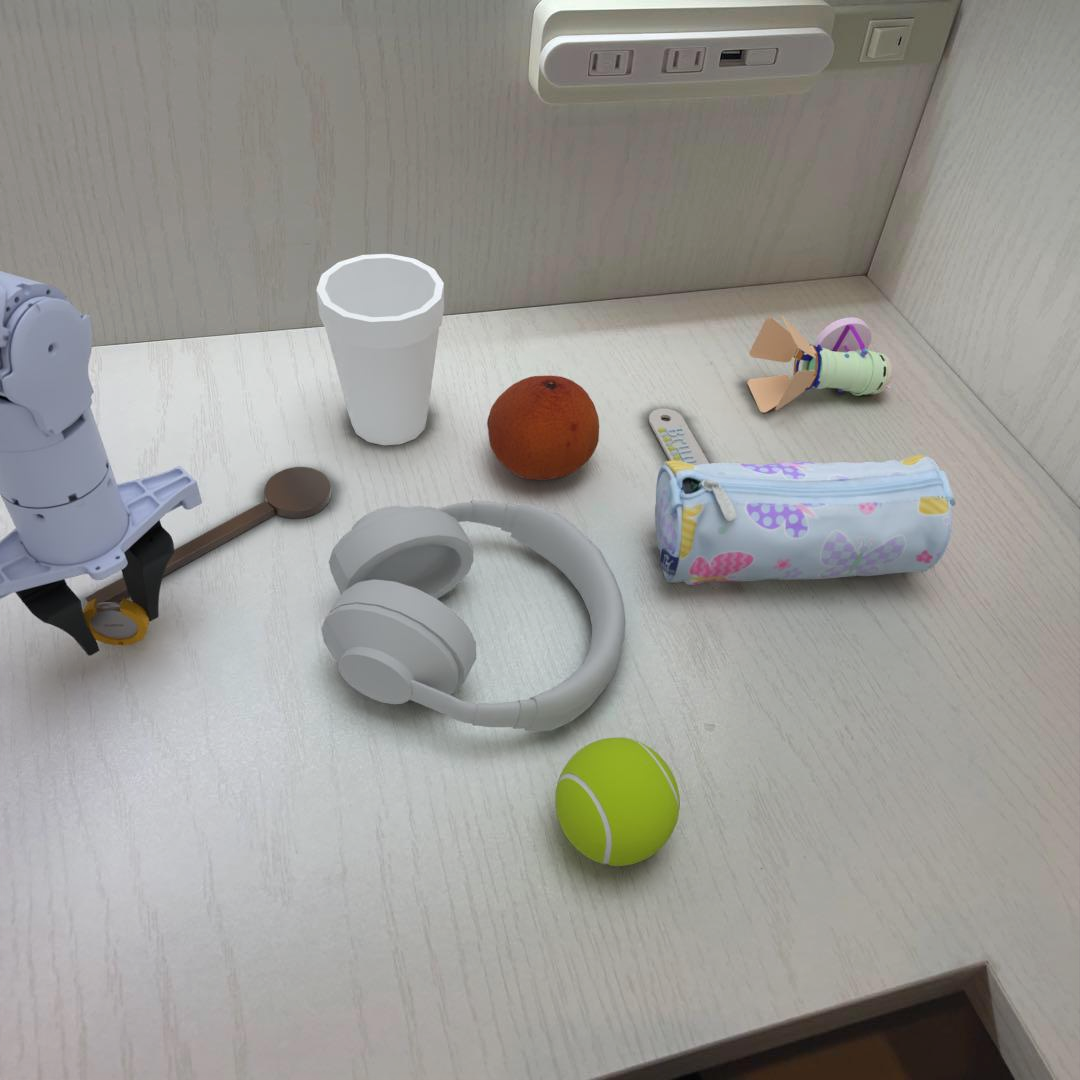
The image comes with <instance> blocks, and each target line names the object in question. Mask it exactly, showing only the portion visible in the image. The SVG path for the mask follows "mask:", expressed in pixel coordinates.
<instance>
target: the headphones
mask: <svg viewBox="0 0 1080 1080" xmlns="http://www.w3.org/2000/svg"><path fill="white" fill-rule="evenodd" d="M462 522H469V523H476V524H482V525H486V526H490V527H496V528H500V531H503V532H508V533H510V537H511V538H512V539H514V540H516V541H517V542H519V543H521V544H522V545H524V546H525V547H528V548H529V549H530V550H532V551H534V552H535V553H537V554H538V555H540V556H541V557H542V558H544V559H545V560H547V561H548V562H549V563H551V564H552V565H553V566H554V567H556V568H557V569H558V570H560V571H561V572H562V573H563V574H564V576H565V577H566V578H567V579H568V580H569V581H570V582H571V584H572V585H573V586H574V588H575V589H576V591H577V592H578V593H579V594H580V596H581V598H582V600H583V602H584V605H585V607H586V609H587V612H588V614H589V618H590V622H591V632H592V633H591V641H590V646H589V650H588V653H587V655H586V657H585V659H584V661H583V662H582V664H580V667H578V668H577V670H575V671H574V672H573V673H572V674H570V675H569V676H568V677H567V678H565V679H564V680H563V681H562V682H560V683H559V684H557V685H555V686H554V687H551V688H550V689H548V690H546V691H543V692H541V693H538V694H535V695H533V696H531V697H530V698H527V699H520V700H519V699H518V700H517V701H506V702H505V701H504V702H493V703H492V702H490V703H489V702H487V703H486V702H484V703H483V702H479V703H475V702H469V701H465V700H461V699H459V698H457V697H455V696H454V695H453V694H454V693H457V692H459V691H460V689H461V687H462V686H463V684H464V683H465V682H466V680H467V677H468V676H469V674H470V672H471V670H472V668H473V666H474V664H475V662H476V661H477V642H476V638H475V637H474V635H473V632H472V631H471V629H470V627H469V625H467V624H466V622H465V621H464V620H463V619H462V618H461V617H460V616H459V615H458V613H457V612H456V611H454V610H452V609H451V608H450V607H449V606H447V605H446V604H445V603H443V602H442V601H441V600H440V598H441V597H443V596H444V595H446V594H447V593H449V592H450V591H451V590H453V589H454V588H456V587H457V586H458V585H459V584H460V583H461V581H462V580H463V579H464V578H465V577H466V576H467V575H468V574H469V573H470V569H471V568H472V565H473V563H474V545H473V544H472V542H471V540H470V539H469V537H468V535H467V534H466V532H465V530H464V528H463V527H462V525H461V523H462ZM328 565H329V569H330V570H329V571H330V574H331V575H332V578H333V580H334V583H335V584H336V586H337V589H338V591H339V593H340V596H339V598H338V600H336V602H335V604H334V605H333V606H332V608H331V609H330V611H329V613H328V614H327V615H326V617H325V618H324V621H323V623H322V626H321V628H320V629H321V634H322V639H323V643H324V644H325V646H326V647H327V650H328V651H329V652H330V654H331V656H332V657H333V658H334V659H335V660H336V661H337V667H338V672H339V673H340V675H341V677H342V678H343V679H344V681H345V682H346V683H347V684H348V685H349V686H350V687H351V688H353V689H354V690H356V691H357V692H358V693H360V694H362V695H363V696H366V697H367V698H369V699H371V700H375V701H377V702H379V703H383V704H388V705H390V704H391V705H402V704H405V703H407V702H409V701H412V702H414V703H417V704H419V705H422V706H424V707H426V708H429V709H431V710H434V711H436V712H438V713H441V714H443V715H446V716H447V717H449V718H451V719H453V720H455V721H458V722H461V723H465V724H470V725H472V726H476V727H484V728H512V729H513V730H517V729H518V730H522V729H524V731H525V732H527V733H536V732H549V731H550V732H551V731H555V730H556V729H558V728H560V727H563V726H564V725H567V724H569V723H571V722H573V721H574V720H575V719H577V718H579V716H581V715H582V714H583V713H585V712H586V711H587V710H588V709H589V708H590V707H591V706H592V705H593V704H594V703H595V702H596V700H597V699H598V698H599V697H600V695H601V694H602V693H603V692H604V690H605V689H606V687H607V686H608V685H609V683H610V681H611V680H612V679H613V677H614V675H615V674H616V672H617V669H618V665H619V663H620V658H621V654H622V649H623V646H624V641H625V633H626V630H625V629H626V613H625V612H626V611H625V604H624V601H623V600H624V599H623V597H622V592H621V589H620V587H619V584H618V582H617V580H616V579H617V578H616V577H615V575H614V573H613V571H612V569H611V568H610V565H609V563H608V562H607V560H606V558H605V556H604V554H603V552H602V550H601V549H600V548H599V547H598V546H597V545H595V543H594V542H592V541H591V540H590V539H589V537H587V536H586V535H585V534H584V533H583V532H582V531H581V530H580V528H578V527H577V526H576V525H575V524H573V523H572V522H571V521H569V520H568V519H566V518H565V517H563V516H562V515H561V514H559V513H557V512H555V511H553V510H550V509H548V508H546V507H544V506H540V505H536V504H530V503H526V502H525V503H524V502H520V503H519V504H517V503H512V502H507V503H505V502H498V501H497V502H496V501H488V500H470V501H463V502H457V503H452V504H449V505H445V506H442V507H439V508H437V507H432V506H423V505H416V506H403V505H402V506H401V505H390V506H385V507H381V508H378V509H375V510H373V511H370V512H368V513H366V514H365V515H363V516H362V517H361V518H359V519H358V520H357V521H356V522H355V523H354V524H353V526H352V527H351V529H350V530H349V531H348V532H346V533H345V534H344V535H342V537H341V538H340V539H339V540H338V542H337V543H336V544H335V545H334V547H333V548H332V551H331V554H330V557H329V559H328Z"/></svg>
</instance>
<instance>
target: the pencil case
mask: <svg viewBox="0 0 1080 1080" xmlns="http://www.w3.org/2000/svg"><path fill="white" fill-rule="evenodd" d="M950 483H951V482H950V481H949V478H948V475H947V473H946V471H945V470H941V468H940V467H939V466H938V463H936V461H935V460H934V459H933V458H931V457H930V456H926V455H922V454H915V455H911V456H909V457H906V458H903V459H900V460H897V459H889V460H885V461H881V462H878V461H858V462H857V461H856V462H849V461H833V462H826V463H825V462H824V463H822V462H815V461H785V462H783V461H782V462H770V463H764V464H763V463H762V464H760V463H759V464H757V463H756V464H755V463H753V464H752V463H742V462H712V463H711V462H710V463H709V464H701V465H692V464H689V463H685V462H681V461H674V460H672V461H669V460H665V461H664V462H663V463H662V464H661V466H660V468H659V469H658V474H657V477H656V485H655V486H656V487H655V504H654V529H655V537H656V542H657V546H658V550H659V555H660V556H659V557H660V558H659V564H658V565H659V567H660V568H661V569H662V572H663V574H664V575H663V576H664V578H665V580H666V581H667V582H668V583H672V584H673V583H681V582H682V583H683V582H684V583H685V584H686V586H696V585H699V584H703V583H709V582H710V583H712V582H754V581H762V580H763V581H764V580H779V581H780V580H782V581H791V580H824V579H837V578H847V577H856V576H858V577H872V576H881V575H896V574H897V575H898V574H903V573H924V572H927V571H929V570H930V569H932V567H934V566H935V565H937V563H939V561H941V559H942V557H943V556H944V555H945V553H946V550H947V548H948V546H949V544H950V539H951V536H952V527H953V526H952V525H953V513H952V507H954V506H956V503H957V502H956V499H955V497H954V494H953V490H952V487H951V484H950Z"/></svg>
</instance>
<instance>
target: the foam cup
mask: <svg viewBox="0 0 1080 1080" xmlns="http://www.w3.org/2000/svg"><path fill="white" fill-rule="evenodd" d="M315 291H316V298H317V307H318V314H319V318H320V321H321V322H322V324H323V327H324V328H325V332H326V335H327V339H328V343H329V347H330V350H331V351H330V352H331V353H332V357H333V362H334V365H335V368H336V373H337V377H338V380H339V383H340V387H341V392H342V395H343V399H344V402H345V406H346V409H347V413H348V418H349V420H350V422H351V423H350V424H351V426H352V428H353V430H354V432H355V434H356V435H357V436H359V437H360V438H361V439H363V440H364V441H366V442H368V443H371V444H376V445H380V446H395V445H403V444H405V443H408V442H410V441H412V440H413V441H414V440H415V439H417V438H418V437H419V436H420V435H421V434H422V433H423V431H425V429H426V425H427V419H428V414H429V407H430V399H431V393H432V385H433V384H432V383H433V377H434V369H435V363H436V362H435V361H436V355H437V348H438V340H439V332H440V327H441V326H442V323H443V320H444V319H443V318H444V313H445V283H444V281H443V279H442V278H441V277H440V275H439V274H438V273H437V271H436V269H435V268H433V267H431V266H429V265H427V264H426V263H424V262H423V261H420V260H418V259H416V258H413V257H408V256H403V255H397V254H392V253H377V254H374V253H373V254H361V255H358V256H354V257H352V258H351V257H350V258H348V259H344V260H340V261H337V263H335V264H334V265H332V266H331V267H330V268H328V269H327V270H325V271H324V272H323V273H321V275H320V278H319V281H318V284H317V287H316V290H315Z"/></svg>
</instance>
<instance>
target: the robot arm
mask: <svg viewBox="0 0 1080 1080" xmlns="http://www.w3.org/2000/svg"><path fill="white" fill-rule="evenodd" d="M67 297H68V296H67V295H66V293H64V292H63V291H62V290H60V288H57V287H56V286H53V285H50V284H47V283H44V282H41V281H37V280H33V279H30V278H27V277H24V276H19V275H16V274H12V273H9V272H5V271H2V270H0V497H1V499H2V501H3V503H4V506H5V508H6V510H7V512H8V514H9V516H10V518H11V520H12V523H13V525H14V527H15V528H14V529H13V530H12V531H11V532H9V533H8V534H7V535H5V537H3V538H2V539H1V540H0V600H1V599H3V598H5V597H7V596H10V595H11V594H13V593H15V594H16V596H18V598H19V599H20V601H21V602H22V603H23V604H24V606H25V607H26V608H27V609H28V611H30V613H31V614H32V615H33V616H34V617H36V618H37V619H38V620H40V621H41V622H42V623H44V624H48V625H51V626H54V627H55V628H58V629H59V630H61V631H63V632H65V633H66V634H67V635H69V636H71V637H72V638H73V639H74V641H76V643H77V644H78V645H79V646H80V647H81V649H82V650H83V651H84V652H85V654H86V655H87V656H89V657H91V656H93V655H95V654H97V653H98V652H100V647H99V644H98V641H97V640H95V638H94V636H93V635H92V633H91V631H90V630H89V628H88V626H87V624H86V621H85V618H84V614H83V610H84V609H83V607H82V600H81V599H80V598H79V597H78V596H77V594H75V592H74V591H73V590H72V589H71V587H69V585H68V584H67V581H66V579H67V580H68V579H70V578H75V577H78V576H82V575H89V577H90V578H91V579H93V580H95V581H103V580H105V579H108V578H109V577H111V576H113V575H115V574H117V573H119V572H120V571H121V574H122V578H123V577H124V581H125V584H126V587H127V590H128V593H129V597H130V599H131V601H132V602H134V603H136V604H138V605H139V606H141V607H142V608H143V609H144V610H145V611H146V613H147V615H148V617H149V623H151V622H152V621H154V620H156V619H157V618H159V615H160V614H159V602H160V601H159V600H160V591H161V586H162V580H163V578H164V576H163V574H164V571H165V568H166V566H167V564H168V562H169V560H170V559H171V557H172V555H173V554H174V550H175V543H174V540H173V537H172V535H171V534H170V533H169V532H168V531H167V530H166V529H165V528H164V527H163V526H162V523H161V519H163V517H165V515H167V514H168V513H171V512H172V511H174V510H176V509H178V508H180V507H182V508H183V509H185V510H187V511H189V510H192V509H194V508H196V507H198V506H200V505H202V504H203V500H202V497H201V492H200V490H199V486H198V481H197V480H196V479H195V478H194V477H193V476H192V475H190V474H189V472H187V470H185V469H184V468H183V467H182V466H181V465H177V466H176V467H173V468H171V469H169V470H166V471H163V472H160V473H158V474H154V475H150V476H146V477H141V478H137V479H134V480H128V481H125V482H121V483H117V479H116V477H115V474H114V471H113V469H112V465H111V463H110V460H109V457H108V454H107V451H106V448H105V445H104V442H103V440H102V436H101V433H100V430H99V428H98V424H97V422H96V419H95V416H94V413H93V410H92V408H91V406H92V403H93V399H92V395H93V394H95V393H94V389H93V385H92V383H91V380H90V374H89V363H90V360H91V359H90V358H91V355H92V349H93V348H92V347H93V327H92V321H91V318H90V315H89V314H87V313H86V314H84V315H83V312H82V313H81V312H79V311H78V310H77V309H76V308H75V306H74V304H73V303H72V301H69V300H66V299H67Z"/></svg>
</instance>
